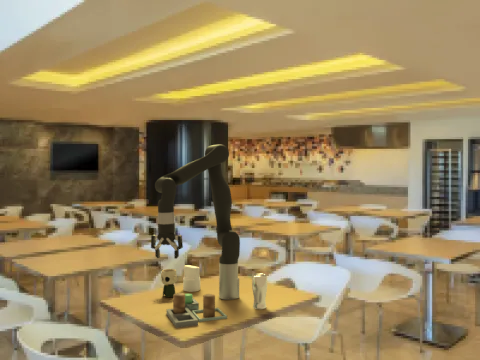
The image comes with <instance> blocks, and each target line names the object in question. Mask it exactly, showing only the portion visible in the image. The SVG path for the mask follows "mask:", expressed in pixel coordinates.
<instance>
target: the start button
mask: <svg viewBox="0 0 480 360" xmlns="http://www.w3.org/2000/svg"><path fill="white" fill-rule="evenodd" d="M184 294H185V304H187V303H193V298H194V297H193V293H184Z"/></svg>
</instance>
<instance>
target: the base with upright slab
mask: <svg viewBox="0 0 480 360" xmlns="http://www.w3.org/2000/svg"><path fill="white" fill-rule="evenodd" d="M183 268H184V269H183V270H184V271H183V278H182V290H183V291H184V292H189V293H191V292H192V293H193V292H199V291H200V290H201V277H200V267H199V266H195V265H190V264H187V265H186V264H185V265H183Z"/></svg>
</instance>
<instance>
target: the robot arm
mask: <svg viewBox="0 0 480 360" xmlns="http://www.w3.org/2000/svg"><path fill="white" fill-rule="evenodd" d="M229 157H230V151H229V148H228V147H227V146H226V145H224V144H213V145H209V146H207V147H206V149H205V150H204V156H202V157H200V158H198V159H195V160H194V161H190V162H188V163H187V164H184V165H182V166H181V167H179V168H178V169H175V170H174V171H173V172H171V173H167V174H165V175H163V176H161V177H159V178H158V179H157V180H156V181H155V183H154V189H155V191H156V192H158V193H160V194H161V196H160V199H159V200H158V203H157V234H153V235H151V237H150V238H151V239H150V248H151V249H153V250H154V253H155V255H154V256H155V258H156V259H159V258H160V257H161V250H160V248H161V246H165V245H166V246H171V247H172V248H173V249H174V251H173V254H174V255H173V256H174V259H178V258H179V256H180V254H179V253H180V250H181V249H183V247H184V246H183V244H184V243H183V235H181V234H179V235H176V228H175V227H176V224H175V223H176V222H175V221H176V220H175V218H176V217H175V208H174V206H175V205H174V201H175V199H176V198H175V197H176V192H177V186H182V185H183V184H185V183H187V182H188V181H190V180H192V179H193V178H195V177H196V176H198V175H200V174H201V173H203V172H205V171H208V176H209V183H210V189H211V197H212V203H213V209H214V215H215V222H216V238H217V242H218V243H217V244H218V245H219V246H220V247H221V255H220V256H219V259H218V266H219V267H218V268H219V269H218V270H219V271H218V279H219V280H218V281H219V282H218V297H219V299H221V300H226V301H227V300H228V301H229V300H230V301H232V300H233V301H234V300H237V299H239V298H240V278H239V258H240V253H241V251H240V249H241V247H240V246H241V238H240V235H239V234H238V233H237V232H236V231H235V230H233V229H232V222H231V213H232V207H233V206H232V205H233V201H232V200H233V199H232V192H231V188H230V186H229V184H228V182H227V180H226V178H225V176H224V174H223V170H222V164H223V163H225V162H226V161H228V159H229ZM157 240H158V243H156V241H157ZM175 240H176V241H177V242H176V241H175Z"/></svg>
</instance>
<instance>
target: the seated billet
mask: <svg viewBox="0 0 480 360" xmlns="http://www.w3.org/2000/svg"><path fill="white" fill-rule="evenodd" d="M185 294H186V293H183V292H179V293H175V294H174V295H173V296H172V302H173V303H172V306H173V307H172V309H173V314H180V313H185Z"/></svg>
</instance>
